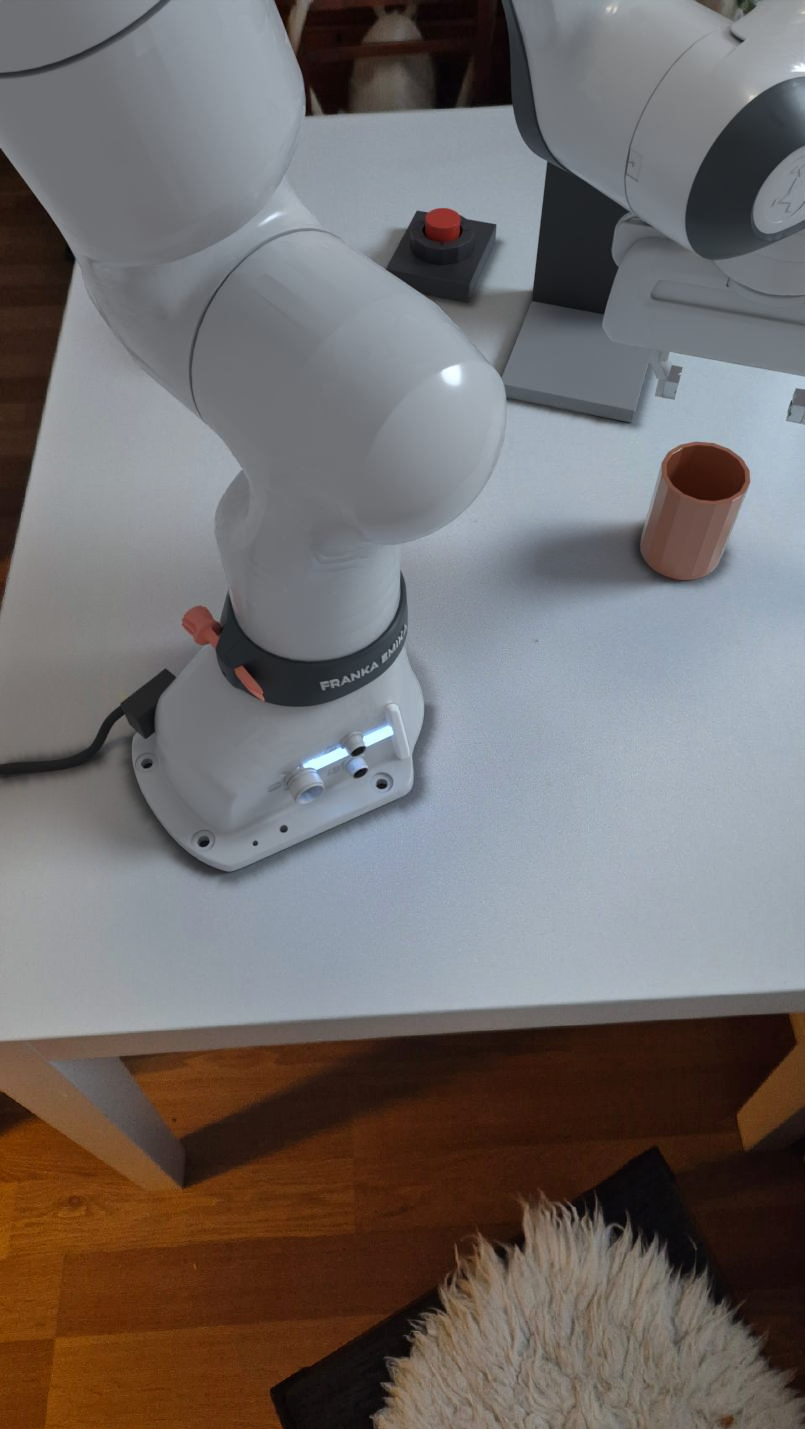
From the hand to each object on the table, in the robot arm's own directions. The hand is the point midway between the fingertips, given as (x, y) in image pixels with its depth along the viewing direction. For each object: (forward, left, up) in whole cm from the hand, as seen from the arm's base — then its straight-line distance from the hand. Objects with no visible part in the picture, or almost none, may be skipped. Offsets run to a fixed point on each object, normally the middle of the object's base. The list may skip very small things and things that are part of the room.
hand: (730, 405), depth 73 cm
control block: (+9, +44, -15) cm, 47 cm away
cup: (0, 0, -16) cm, 16 cm away
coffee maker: (+11, +24, -16) cm, 30 cm away
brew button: (+9, +44, -12) cm, 46 cm away
